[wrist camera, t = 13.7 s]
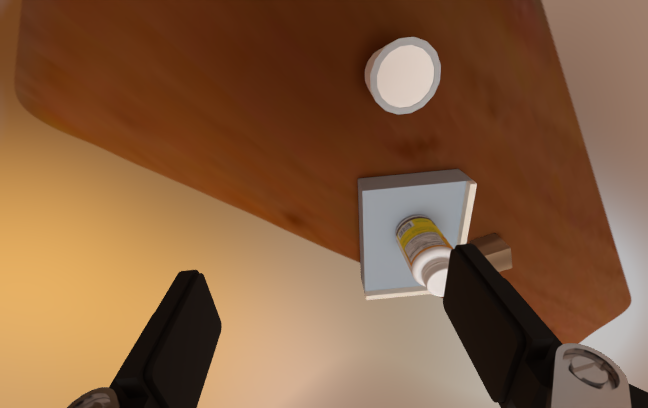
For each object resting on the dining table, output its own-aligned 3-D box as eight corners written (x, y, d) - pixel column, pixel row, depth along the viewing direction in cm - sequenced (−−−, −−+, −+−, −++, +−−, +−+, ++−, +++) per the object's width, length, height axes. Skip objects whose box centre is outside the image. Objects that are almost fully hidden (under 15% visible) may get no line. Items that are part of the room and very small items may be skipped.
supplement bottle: (431, 246, 41) (466, 301, 32) (392, 248, 41) (416, 304, 32) (437, 211, 38) (477, 261, 29) (395, 214, 38) (422, 264, 29)
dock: (357, 178, 40) (363, 194, 35) (458, 168, 40) (477, 183, 35) (361, 277, 48) (366, 300, 44) (444, 269, 48) (457, 291, 44)
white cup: (366, 111, 36) (378, 123, 29) (352, 51, 32) (362, 51, 26) (421, 93, 35) (445, 102, 29) (412, 30, 32) (437, 25, 26)
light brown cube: (469, 240, 46) (483, 256, 42) (494, 232, 45) (510, 247, 42) (472, 259, 47) (485, 275, 44) (497, 251, 47) (512, 267, 43)
